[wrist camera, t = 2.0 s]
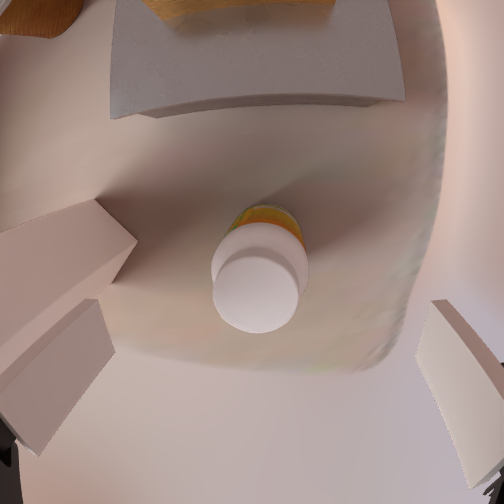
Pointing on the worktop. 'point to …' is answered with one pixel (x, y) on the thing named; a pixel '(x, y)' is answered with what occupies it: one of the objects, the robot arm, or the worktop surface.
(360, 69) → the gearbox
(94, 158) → the worktop surface
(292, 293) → the supplement bottle
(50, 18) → the disposable coffee cup
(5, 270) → the milk
